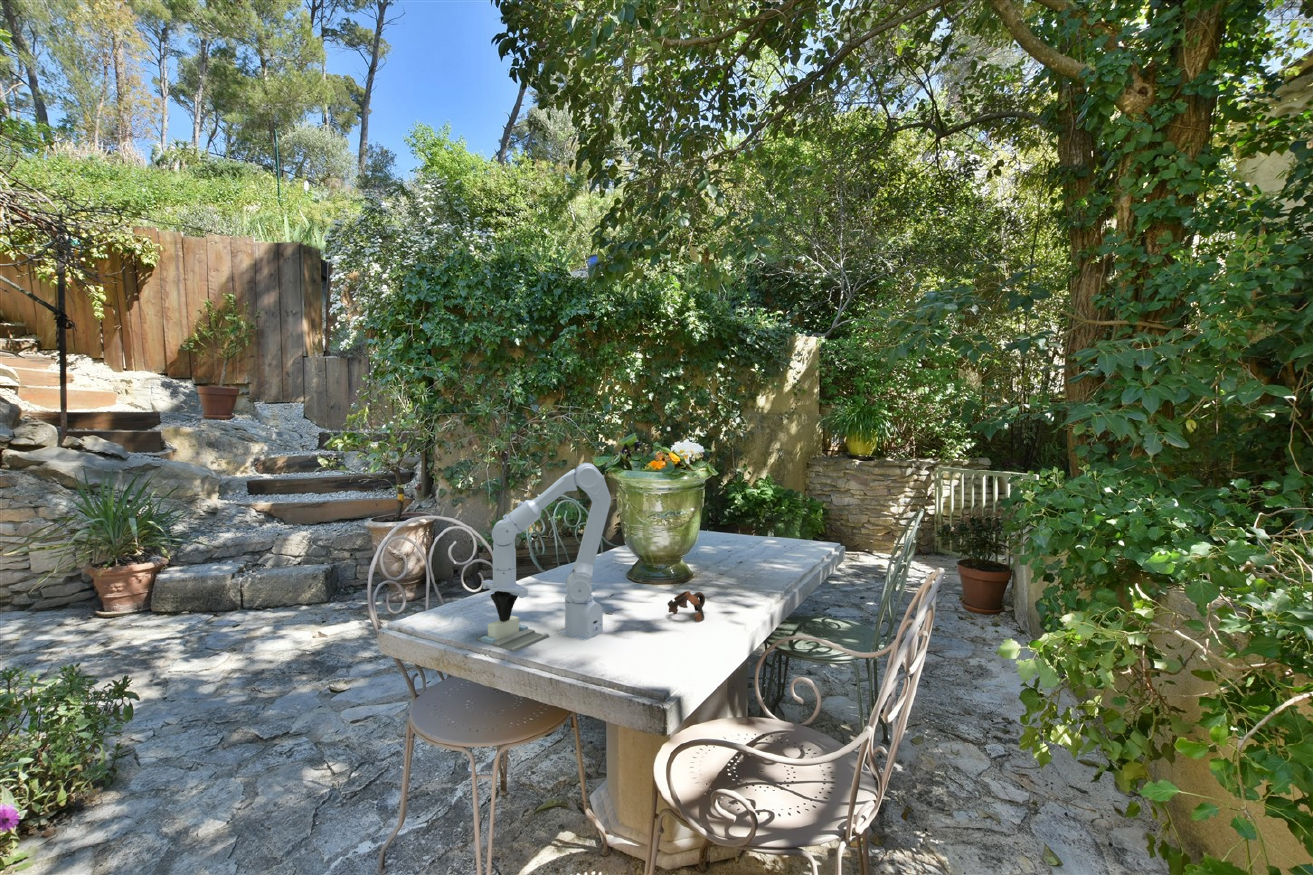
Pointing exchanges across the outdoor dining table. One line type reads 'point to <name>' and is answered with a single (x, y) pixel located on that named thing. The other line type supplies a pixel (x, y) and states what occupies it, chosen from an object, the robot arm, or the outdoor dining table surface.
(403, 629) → the outdoor dining table surface
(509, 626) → the cream foam block
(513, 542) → the robot arm
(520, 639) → the duct plate
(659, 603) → the outdoor dining table surface
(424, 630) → the outdoor dining table surface
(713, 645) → the outdoor dining table surface
